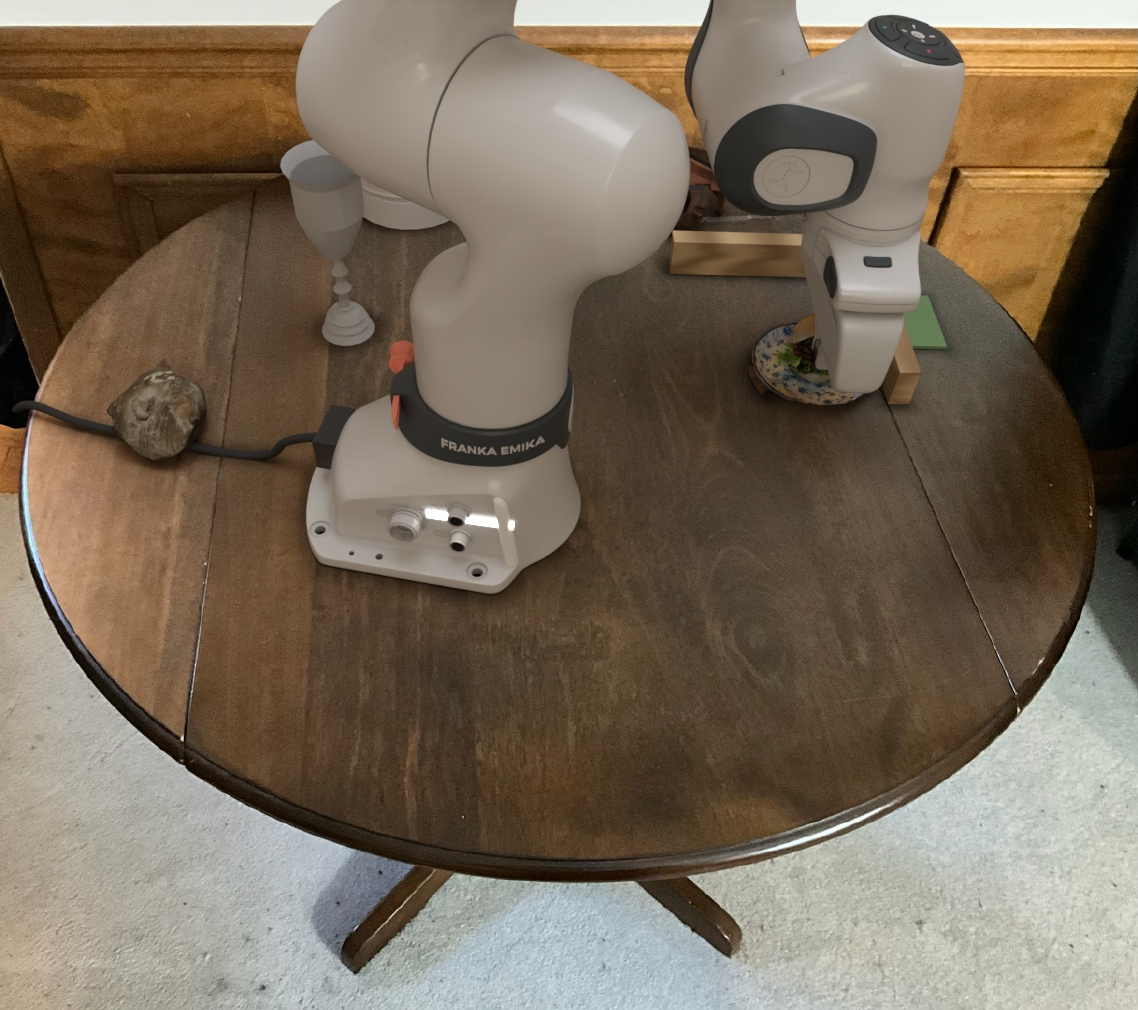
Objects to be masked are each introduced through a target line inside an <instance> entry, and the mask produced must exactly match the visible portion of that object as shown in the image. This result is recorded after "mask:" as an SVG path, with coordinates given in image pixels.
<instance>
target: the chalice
mask: <svg viewBox="0 0 1138 1010" xmlns="http://www.w3.org/2000/svg"><path fill="white" fill-rule="evenodd" d="M279 168H280V169H281V172H282V174H283V175H284V176H285V178H286V179H287V180H288V182H289V186H290V192H291V198H292V203H293V209H294V213H295V218H296V221H297V222H298V224H299V226H300V227H301V230H302V231H303V232H304V234H305V236H306V238H307V239H309V241H310V242H311V244H312V245H313V246H314V247H315V248H316V249H317V251H318V252H319V253H320V255H321V256H323V257H324V258H326V259H330V260H332V269H331V270H330V275H332V276H333V277H334V279H335V284H334V285H333V286H332V291H333V292H334V293H335V294H337V297H338V301H337V302H335V303H334V304H332V305H331V306H330V308H329V309H328V310H327V312H326V317H325V319H324V323H323V325H322V327H321V333H322V336H323V338H324V339H325V340H326V341H327V342H328V343H331V344H333V345H336V346H341V347H348V346H349V347H350V346H355V345H360V344H362V343H364V342H366V341H367V340H368V339H370V338H371V337H372V336H373V334H374V332H375V328H376V327H375V326H376V325H375V323H374V321H373V319H372V318H371V317H370V315H369V313H368V312H367V311H366V309H365V308H364V307H363V305H361V304H360V303H358V302H356V301H353V300H350V298H349V293H350V292H351V291H352V289H353V288H352V284H351V283H349V282H348V281H347V276H348V274H349V269H348V267H347V266H346V265H345V262H344V258H345V257H347V256H348V255H350V254H351V252H352V251H353V248H354V245H355V242H356V240H357V238H358V235H359V234H360V230H361V226H362V222H363V218H364V217H363V214H364V199H363V191H362V183H361V177H360V176H358V175H357V174H355V173H354V172H353V171H351V170H350V169H349V168H347V167H346V166H345V165H343V164H342V163H341V162H339V161H338V160H337V159H336V158H334V157H333V156H332V155H331V154H329V153H328V152H327V151H326V150H324V149H323V148H322V147H321V146H319V145H318V144H317V143H316V142H315V141H314V140H313V139H312V140H307V141H303V142H302V143H299V144H296V145H294V146H293V147H292V148H290V149H288V151H286V152H285V154H284V155H283V156H282V157H281V160H280V167H279Z"/></svg>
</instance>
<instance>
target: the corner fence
mask: <svg viewBox="0 0 1138 1010" xmlns="http://www.w3.org/2000/svg"><path fill="white" fill-rule="evenodd" d="M802 234H803V233H777V232H776V233H775V232H745V231H744V232H742V231H741V232H739V231H738V232H737V231H706V230H703V231H702V230H698V231H697V230H691V231H679V230H672V232H671V238H670V247H669V254H668V262H667V263H668V270H669V275H697V276H698V275H700V276H703V275H704V276H735V277H737V276H739V277H770V278H771V277H772V278H773V277H774V278H775V277H776V278H778V277H779V278H780V277H781V278H806V275H805V271H804V267H803V262H802V258H801V241H802ZM921 375H922V370H921V367H920V365H919V362H918V359H917V356H916V353H915V349H913V347H912V344H911V341H910V338H909V335H908V333H907V330H906V327H905V324H904V327H903V332H902V335H901V338H900V341H899V344H898V347H897V349H896V352H895V355H894V357H893V360H892V362H891V365H890V367H889V369H888V372H887V374H886V376H885V378H884V381H883V382H882V384H881V386H882V389H883V392H884V395H885V398H886V402H887V404H888V405H906V406H907V405H910V402H911V400H912V397H913V396H914V392H915V390H916V387H917V386H918V382H919V380H920V377H921Z"/></svg>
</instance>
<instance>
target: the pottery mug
mask: <svg viewBox="0 0 1138 1010" xmlns="http://www.w3.org/2000/svg"><path fill="white" fill-rule="evenodd" d="M689 157H690V182H689V189H688V194H687V198H686V201H685V205H684V208H683V210H682V213H681V215H680V217H679V220H678V222H677V223H676V225H675V227H674V228H676V229H677V231H694V230H695V228H696V227H697V225H699V223H700V222H702V220H703V218H704V217H705V215H706V213H707V211H708V209H709V205H710V191H711V192H712V193H713V194H714V196H715V197H716V200H715V204H714V211H715V212H716V213H722V212H723V210H724V208H725V203H726V201H727V199H726V198H725V197H724V196H723V194H722V193H721V191H720V190H719V188H718V185H717V183H716V180H715V176H714V173H713V170H712V167H711V164H710V161H709V160H707V159H705V158H703V157H701V156H699V155H697V154H696V153H693V152H692V151H689ZM707 187H708V188H707Z"/></svg>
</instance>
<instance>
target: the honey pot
mask: <svg viewBox="0 0 1138 1010" xmlns="http://www.w3.org/2000/svg"><path fill="white" fill-rule="evenodd" d="M361 183H362V191H363V199H364V214H363V218H364V219H366V220H367V221H369V222H370V223H372V224H375V225H379V226H381V227H384V228H387V229H395V230H407V231H408V230H423V229H429V228H434V227H437V226H439V225H442V224H446V223H448V222H449V221H450V220H448V219H447V218H446V217H444V216H442V215H440V214H438V213H435V212H433V211H431V210H429V209H426V208H424V207H422V206H420V205H417V204H415V203H413V202H411V201H408V200H406V199H404V198H402V197H399V196H397V195H395V194H393V193H390V192H388V191H386V190H384V189H381V188H379V187H377V186H375V185H372V184H370V183H368V182H367V181H365V180H364V179H362V178H361Z"/></svg>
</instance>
